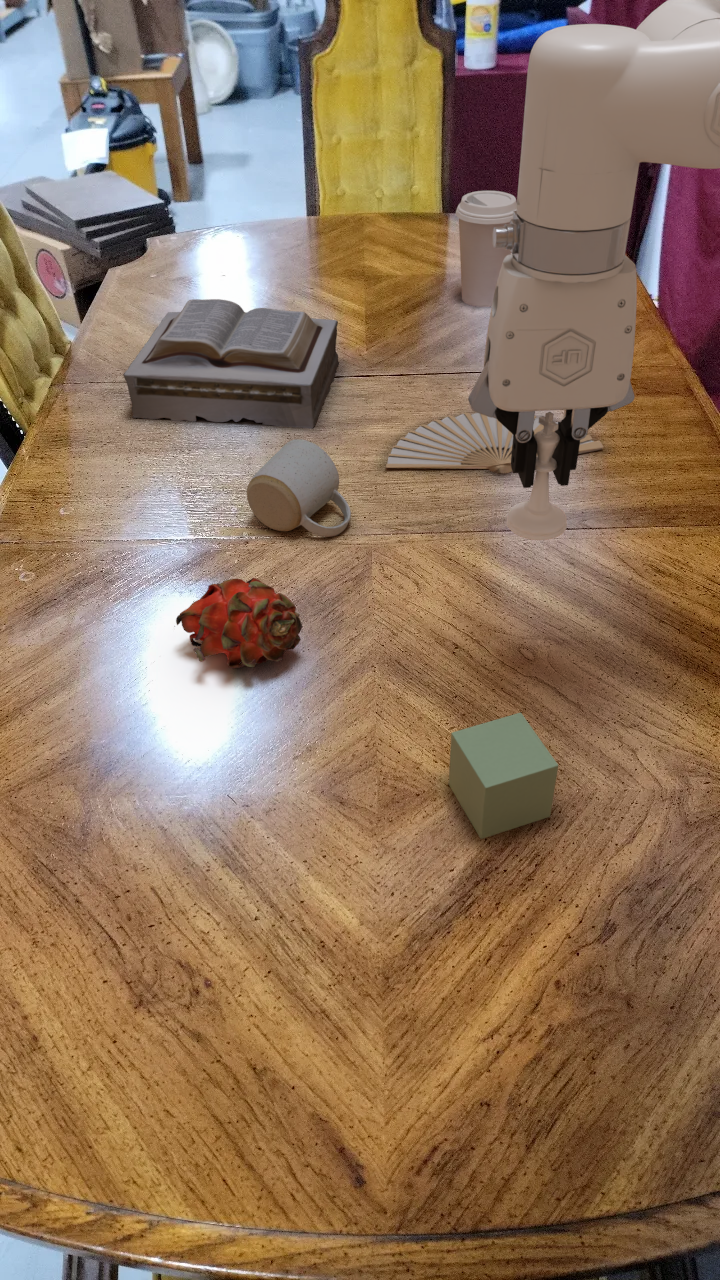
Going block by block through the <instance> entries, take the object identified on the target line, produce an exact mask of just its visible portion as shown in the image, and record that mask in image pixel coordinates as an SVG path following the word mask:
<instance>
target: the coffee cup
mask: <svg viewBox="0 0 720 1280" xmlns="http://www.w3.org/2000/svg"><path fill="white" fill-rule="evenodd" d="M516 207H517V197H515V196H514V195H513V194H512V193H508V192H505V191H499V190H477V191H472V192H468V193H466V194H464V195H462V197H461V200H460V202H459V203H458V204H457V207H456V209H455V216H456V217H457V219H458V233H459V256H460V257H459V258H460V259H459V260H460V285H461V286H460V287H461V300H462V302H463V303H465V304H466V305H469V306H473V307H477V308H478V307H479V308H488V307H492V302H493V297H494V293H495V288H496V284H497V280H498V277H499V273H500V269H501V266H502V263H503V260H504V258H505V257H506V256H507V255H510V254H511V252H510V250H509V249H507V250H505V249H504V247H502V248H494V246H493V229H494V227H504V226H505V224H510V221H511V219H513V212H514V211H517V210H516Z"/></svg>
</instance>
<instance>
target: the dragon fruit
mask: <svg viewBox="0 0 720 1280" xmlns="http://www.w3.org/2000/svg"><path fill="white" fill-rule="evenodd" d="M296 610H297V607H296V605H295V603H294V602H293V601H292V600H291V599H290V598H289V597H287V596H286V595H285V594H283V593H281V592H277V593H276V591H275V589H274V587H273V586H270V585H268V584H266V583H265V582H263V581H261V580H260V579H258V578H255V577H252V578H251V579H249V580H247V581H245V580H243V579H241V578H230V579H226V580H224V581H222V582H220V583H218V582H217V583H212V584H211V583H210V584H209V585H208V587H207V590H206V592H205V593H204V594H203V595H202V596H201V597H200V599H197V600H195V601H193V602H192V603H191V604H190V605H189V606H188V607H187V608H185V609H184V610H183V611H181V612H180V613H179V614H178V615H177V617H176V619H175V623H176V626H179V624H181V626H182V629H183V631H185V632H186V633H188V634H189V637H188V638H189V642H190V644H191V645H192V646H193V647H194V648H193V652H194V653H195V654H196V658H198V661H199V662H204V661H206V658H207V657H211V656H215V655H219V654H224V655H226V658H227V661H226V664H227V667H229V669H232V670H233V669H234V670H235V669H237V668H243V667H245V666H246V667H248V668H255V667H256V665H259V664H263V663H267V662H268V661H273V662H279V661H281V660H282V661H283V659H284V658H283V657H284V654H285V651H289V650H295V648H296V647H297V646H298V645H299V643H300V641H301V640H302V639H301V637H300V635H299V634H300V633H301V631H302V629H303V627H304V626H303V624H302V622H301V621H302V620H301V618H300V613H298V612H297V611H296ZM175 623H174V624H175ZM176 626H175V625H174V627H173V631H174V630H175V627H176ZM198 641H200V642H201V643H200V642H198ZM198 647H199V648H198Z"/></svg>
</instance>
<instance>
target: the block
mask: <svg viewBox="0 0 720 1280" xmlns="http://www.w3.org/2000/svg"><path fill="white" fill-rule="evenodd" d="M449 749H450V752H449V754H450V755H449V765H448V767H449V768H448V786H449V787H450V789H451V791H452V793H453V794H454V796H455V798H456V800H457V801H458V803H459V805H460V807H461V808H462V810H463V811H464V813H465V815H466V817H467V818H468V821H469V822H470V824H471V825H472V827H473V829H474V830H475V832H476V833H477V835H478V837H479V839H480V840H483V839H486V838H488V837H492V836H495V835H498V834H502V833H504V832H507V831H510V830H513V829H516V828H519V827H523V826H525V825H529V824H532V823H536V822H538V821H541V820H544V819H547V818H550V817H551V814H552V808H553V802H554V795H555V789H556V783H557V777H558V770H559V764H558V762H557V760H556V759H555V758H554V757H553V755H552V754H551V753H550V751H549V750H548V748H547V747H546V745H545V744H544V743H543V741H542V740H541V739H540V737H539V735H538V734H537V733H536V732H535V730H534V729H533V727H532V726H531V724H530V723H529V721H528V720H527V719H526V718H525V716H524V715H523V713H522V712H517V713H514V714H511V715H510V714H509V715H507V716H504V717H501V718H497V719H493V720H490V721H487V722H483V723H480V724H476V725H473V726H470V727H466V728H462V729H459V730H455V731H452V732H451V734H450V748H449Z"/></svg>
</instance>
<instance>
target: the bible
mask: <svg viewBox="0 0 720 1280" xmlns="http://www.w3.org/2000/svg"><path fill="white" fill-rule="evenodd" d="M338 324H339V321H338V320H337V319H326V318H312V317H310V315H308V313H307V312H305V311H295V310H285V309H276V308H270V307H257V308H256V307H255V308H253V309H250V310H249V311H247V312H246V311H245V310H244V309H243V308H242V307H241V305H239V304H238V303H237V302H234V301H231V300H227V299H220V298H210V299H209V298H208V299H207V298H206V299H199V298H196V299H195V298H193V299H192V298H191V299H188V300H187V301H186V303H185V305H184V306H183V308H182V309H181V311H168V312H167V313H166V314H165V316H164V317H163V318H162V319H161V320H160V322H159V324H158V325H157V326H156V327H155V329H154V331H153V332H152V334H151V335H150V337H148V340H147V342H145V343H144V345H143V347H142V348H141V349H140V351H139V352H138V353H137V355H136V356H135V358H134V359H133V360H132V362H131V363H130V364H129V366H128V368H127V369H126V371H125V372H123V378H124V380H125V383H126V386H127V390H128V395H129V398H130V402H131V412H132V418H133V419H134V418H137V419H139V418H141V419H148V420H159V419H163V418H165V419H169V420H170V421H175V422H182V421H187V422H197V417H199V418H202V419H204V420H206V421H207V422H213V423H225V422H229V421H231V420H232V421H234V422H235V423H237V422H240V421H241V420H242V419H246V420H249V421H254V422H255V423H256V424H259V423H260V424H261V423H262V424H261V425H263V426H274V427H285V428H299V429H300V428H303V429H311V430H312V429H314V427H315V426H316V425H317V422H318V419H319V416H320V413H322V410H323V405H324V404H325V401H326V399H327V396H328V394H330V391H331V389H332V387H331V384H332V383H333V382H334V381H335V377H336V373H337V369H338V367H339V365H340V362H339V354H338V353H337V349H336V346H337V338H338Z"/></svg>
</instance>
